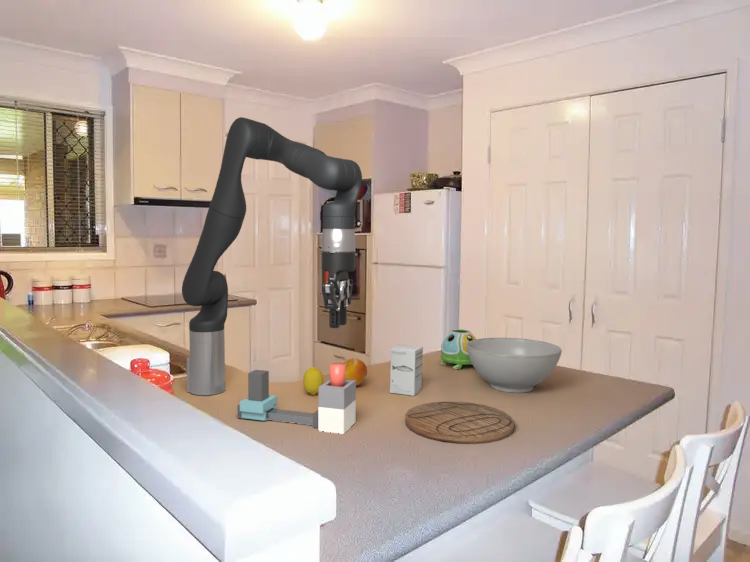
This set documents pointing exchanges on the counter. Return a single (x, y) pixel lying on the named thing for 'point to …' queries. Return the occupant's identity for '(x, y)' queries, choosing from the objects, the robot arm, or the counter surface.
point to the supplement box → (406, 369)
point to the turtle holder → (456, 348)
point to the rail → (290, 416)
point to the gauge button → (337, 374)
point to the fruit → (355, 370)
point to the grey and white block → (337, 407)
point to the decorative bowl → (513, 362)
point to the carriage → (257, 396)
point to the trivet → (459, 422)
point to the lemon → (312, 380)
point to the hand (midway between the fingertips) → (338, 325)
